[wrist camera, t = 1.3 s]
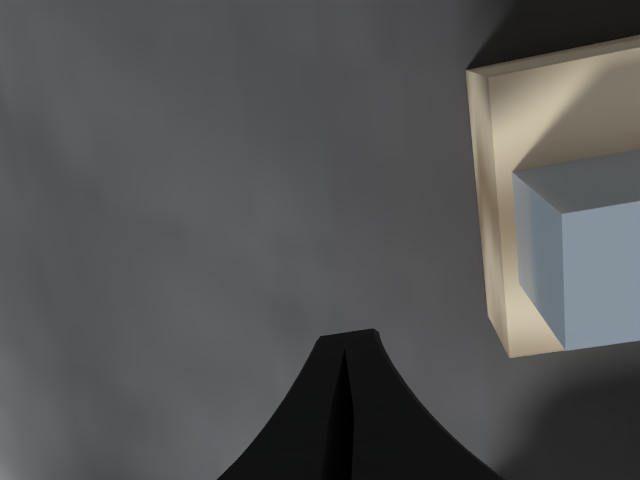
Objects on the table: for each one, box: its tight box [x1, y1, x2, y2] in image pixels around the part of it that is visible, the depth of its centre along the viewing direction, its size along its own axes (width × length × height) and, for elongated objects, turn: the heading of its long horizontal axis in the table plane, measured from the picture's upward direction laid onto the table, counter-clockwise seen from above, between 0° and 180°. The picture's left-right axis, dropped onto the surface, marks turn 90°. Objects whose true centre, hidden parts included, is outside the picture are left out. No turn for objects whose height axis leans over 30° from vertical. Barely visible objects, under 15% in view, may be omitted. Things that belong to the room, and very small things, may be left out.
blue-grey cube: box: [512, 149, 640, 351], centre depth 15 cm, size 4×4×4 cm
